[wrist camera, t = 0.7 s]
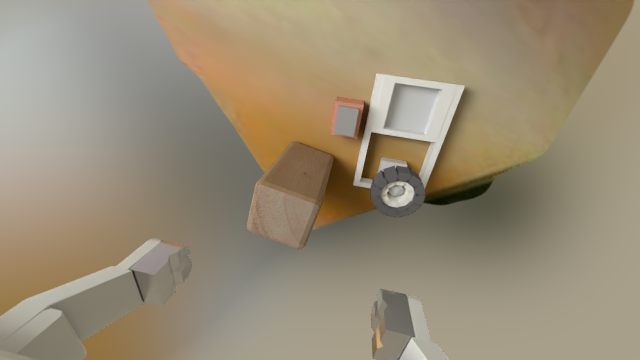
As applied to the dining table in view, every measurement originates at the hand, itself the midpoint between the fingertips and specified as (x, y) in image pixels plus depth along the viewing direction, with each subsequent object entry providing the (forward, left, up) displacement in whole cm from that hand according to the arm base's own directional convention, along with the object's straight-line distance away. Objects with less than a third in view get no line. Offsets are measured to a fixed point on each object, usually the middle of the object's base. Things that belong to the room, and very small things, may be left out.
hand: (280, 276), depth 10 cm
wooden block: (+14, -6, -40) cm, 43 cm away
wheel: (+11, +12, -32) cm, 36 cm away
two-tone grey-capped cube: (+1, +1, -40) cm, 40 cm away
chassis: (+4, +12, -40) cm, 42 cm away
